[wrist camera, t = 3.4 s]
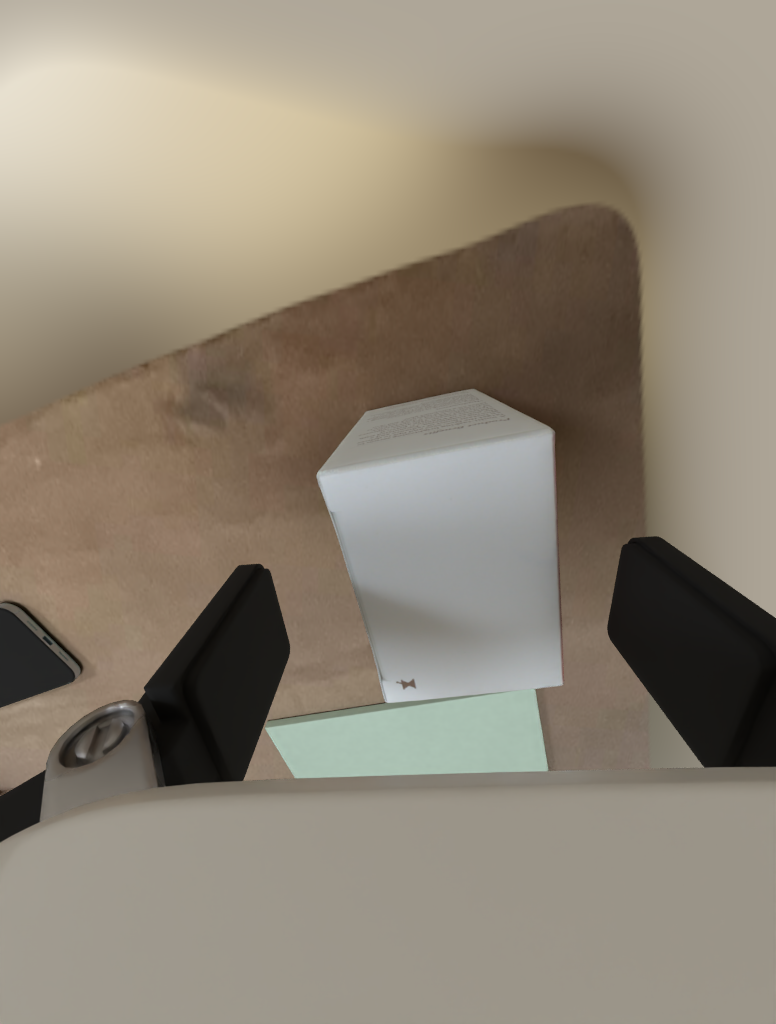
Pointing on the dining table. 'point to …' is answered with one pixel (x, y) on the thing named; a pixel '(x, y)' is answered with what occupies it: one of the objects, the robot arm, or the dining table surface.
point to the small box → (451, 545)
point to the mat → (416, 737)
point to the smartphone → (29, 658)
